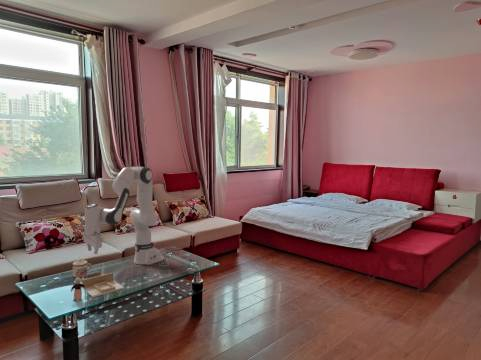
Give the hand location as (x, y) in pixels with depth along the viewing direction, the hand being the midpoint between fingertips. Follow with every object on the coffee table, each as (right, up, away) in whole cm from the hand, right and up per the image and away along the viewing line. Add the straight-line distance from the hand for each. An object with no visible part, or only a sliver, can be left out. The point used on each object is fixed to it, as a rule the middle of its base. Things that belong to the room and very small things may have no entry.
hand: (92, 252), depth 216 cm
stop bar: (0, -18, +2) cm, 18 cm away
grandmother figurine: (+2, -22, -24) cm, 32 cm away
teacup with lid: (-12, -18, +12) cm, 24 cm away
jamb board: (+5, -20, -4) cm, 21 cm away
